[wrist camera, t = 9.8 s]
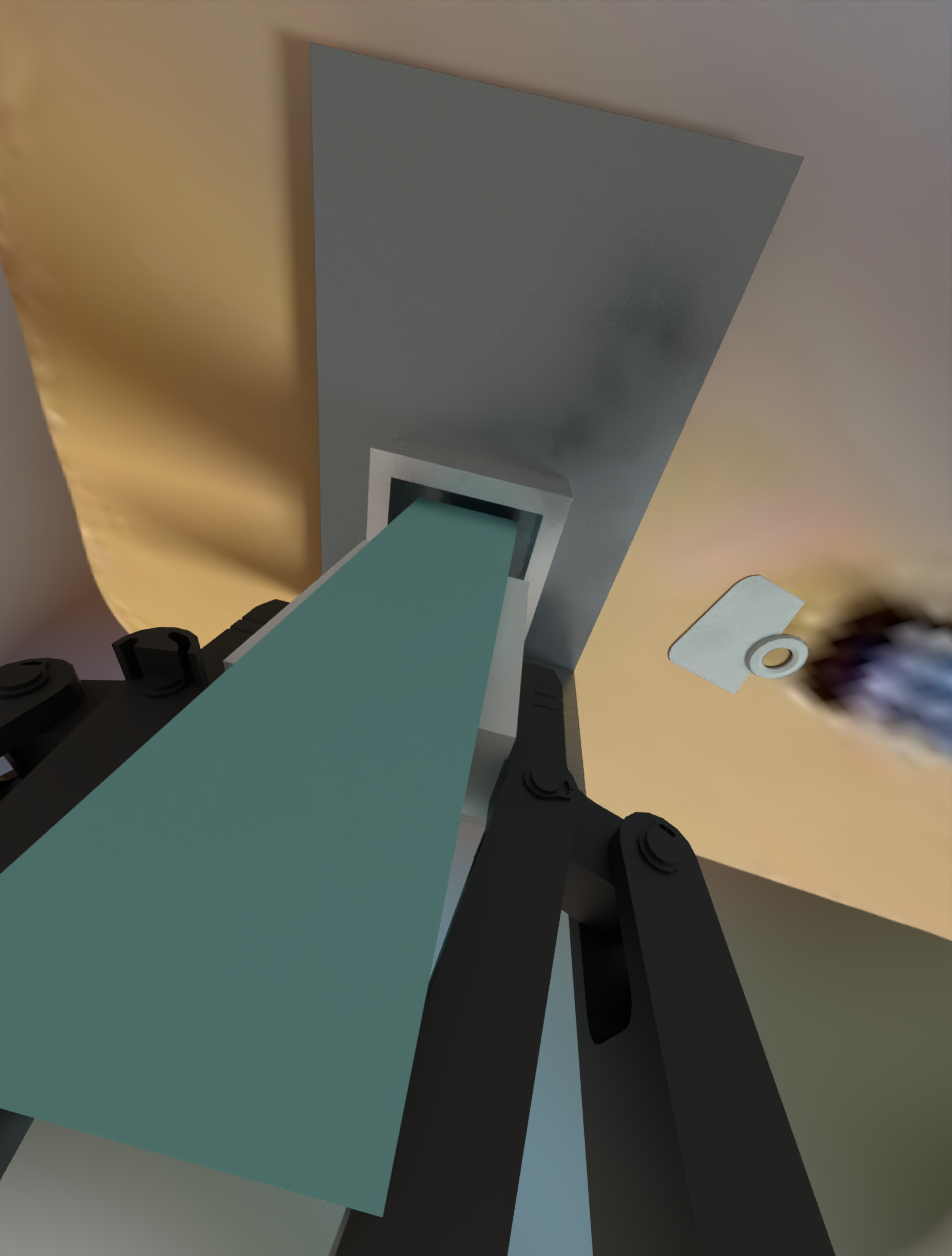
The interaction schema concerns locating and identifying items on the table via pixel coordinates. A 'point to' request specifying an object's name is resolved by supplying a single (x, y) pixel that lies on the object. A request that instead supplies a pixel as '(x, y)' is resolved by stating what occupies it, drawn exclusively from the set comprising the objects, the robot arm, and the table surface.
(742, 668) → the mounting bracket
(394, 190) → the cup bracket
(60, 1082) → the teal block
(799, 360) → the table surface
